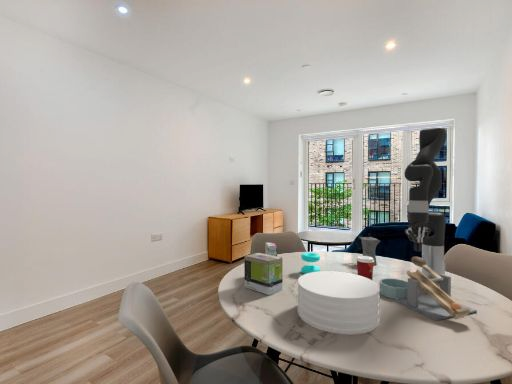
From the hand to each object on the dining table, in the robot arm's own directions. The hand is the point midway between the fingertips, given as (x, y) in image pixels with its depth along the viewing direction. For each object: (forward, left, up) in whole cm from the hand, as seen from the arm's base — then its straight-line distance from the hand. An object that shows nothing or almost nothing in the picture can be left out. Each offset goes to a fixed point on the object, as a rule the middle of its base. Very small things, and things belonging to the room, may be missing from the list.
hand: (417, 250), depth 120 cm
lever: (+5, +11, -10) cm, 16 cm away
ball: (+10, +24, -13) cm, 29 cm away
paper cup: (+18, -12, -18) cm, 28 cm away
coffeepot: (-12, -46, -18) cm, 50 cm away
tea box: (+62, -26, -19) cm, 69 cm away
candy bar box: (+52, -42, -18) cm, 69 cm away
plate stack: (+45, +6, -19) cm, 49 cm away
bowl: (+10, -2, -18) cm, 21 cm away
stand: (+6, +13, -18) cm, 23 cm away
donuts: (+30, -40, -18) cm, 53 cm away
